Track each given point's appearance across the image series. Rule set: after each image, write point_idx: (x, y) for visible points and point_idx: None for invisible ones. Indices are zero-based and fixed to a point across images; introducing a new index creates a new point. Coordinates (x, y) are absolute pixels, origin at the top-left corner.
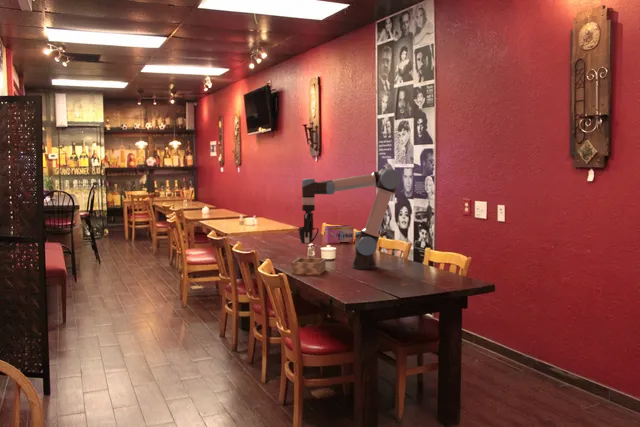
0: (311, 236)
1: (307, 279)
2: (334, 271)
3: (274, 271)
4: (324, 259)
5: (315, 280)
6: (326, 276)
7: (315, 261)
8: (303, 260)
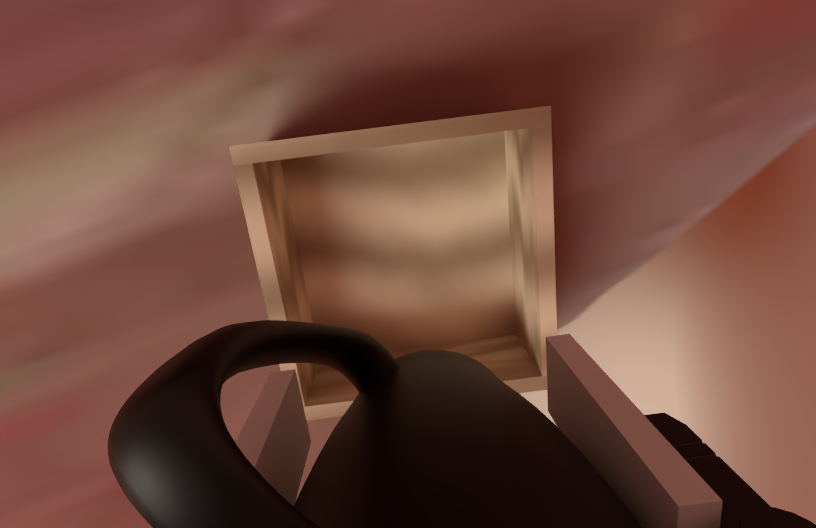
0: (466, 393)
1: (704, 147)
2: (305, 32)
3: None
4: (283, 139)
5: (735, 66)
6: (552, 28)
7: (280, 248)
8: (303, 364)
